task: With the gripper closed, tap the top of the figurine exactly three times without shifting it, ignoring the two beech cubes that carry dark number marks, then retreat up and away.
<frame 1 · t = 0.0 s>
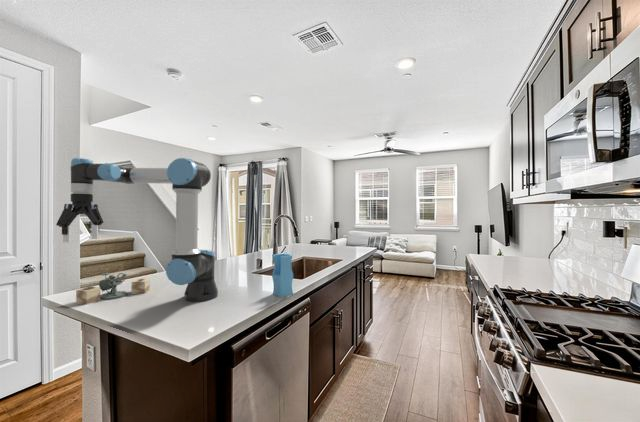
hand: (81, 240, 123), 28 cm above the worktop, fingers open, 13 cm apart
marked cube b: (88, 301, 125), on the worktop
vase: (282, 294, 140), on the worktop
figurine: (113, 296, 132), on the worktop
marked cube a: (140, 292, 140), on the worktop
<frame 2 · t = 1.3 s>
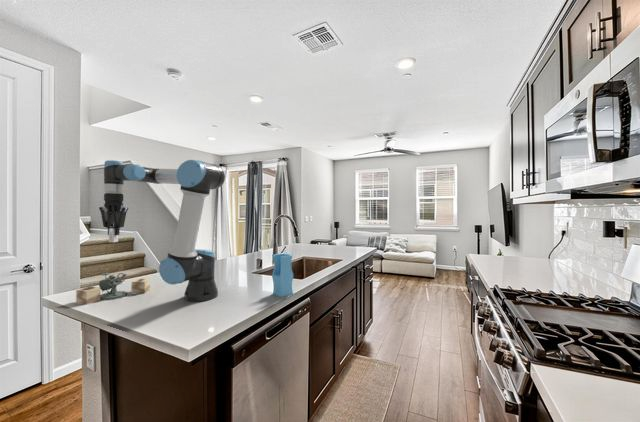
hand: (113, 241, 132), 26 cm above the worktop, fingers closed
nothing on the worktop moved.
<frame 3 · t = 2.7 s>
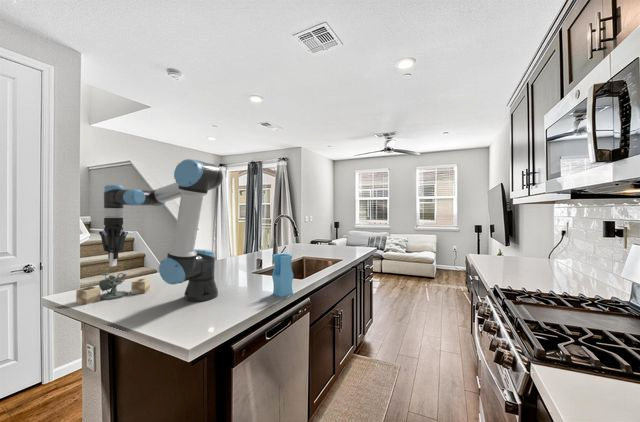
hand: (113, 265, 132), 15 cm above the worktop, fingers closed
nothing on the worktop moved.
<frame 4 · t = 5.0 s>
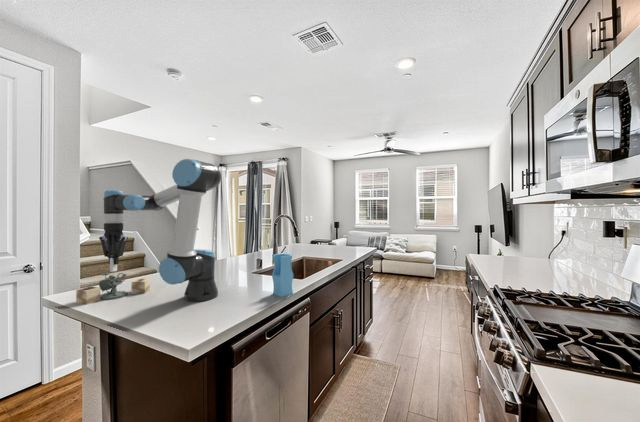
hand: (113, 271, 132), 12 cm above the worktop, fingers closed
nothing on the worktop moved.
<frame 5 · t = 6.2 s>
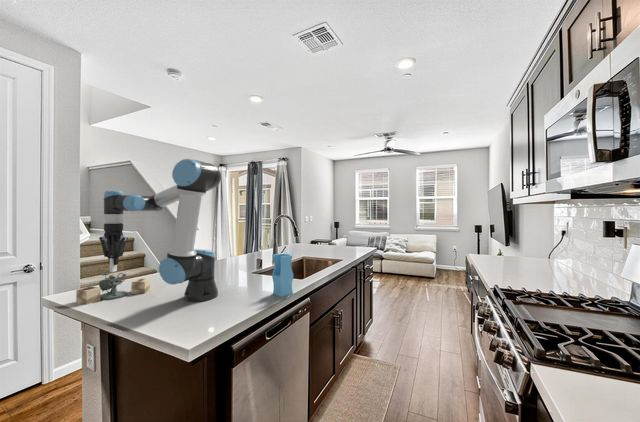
hand: (113, 271, 132), 12 cm above the worktop, fingers closed
nothing on the worktop moved.
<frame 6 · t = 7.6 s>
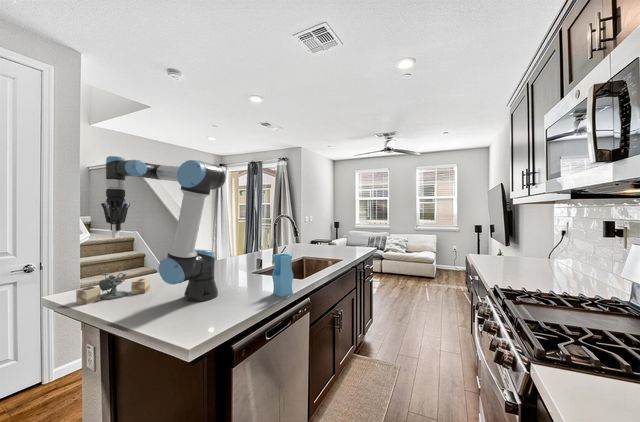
hand: (115, 237, 132), 28 cm above the worktop, fingers closed
nothing on the worktop moved.
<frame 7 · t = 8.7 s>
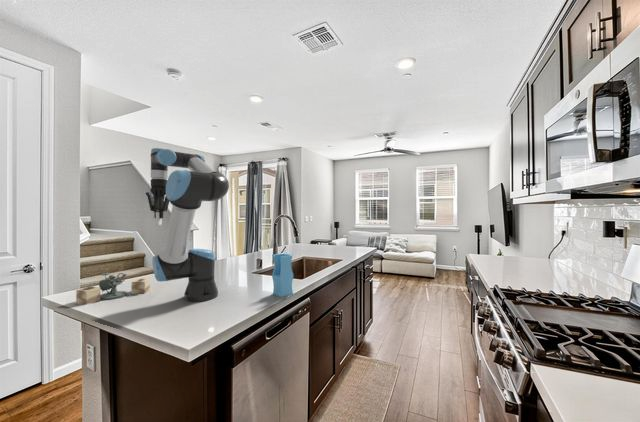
hand: (158, 224, 141), 34 cm above the worktop, fingers closed
nothing on the worktop moved.
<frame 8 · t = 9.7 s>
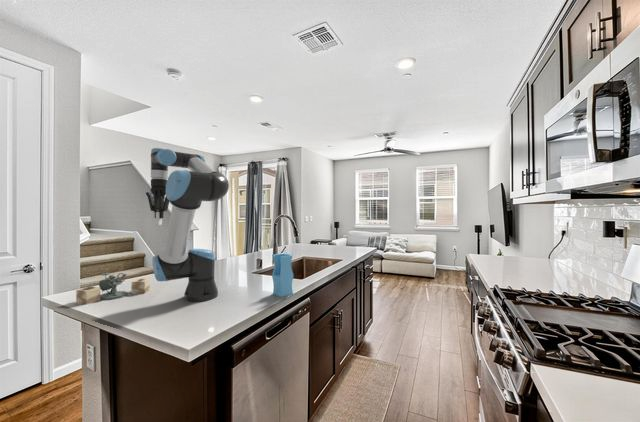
hand: (158, 224, 141), 34 cm above the worktop, fingers closed
nothing on the worktop moved.
at the end: figurine moved 0.3 cm from its start; figurine tilted 0°; the gripper is holding nothing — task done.
